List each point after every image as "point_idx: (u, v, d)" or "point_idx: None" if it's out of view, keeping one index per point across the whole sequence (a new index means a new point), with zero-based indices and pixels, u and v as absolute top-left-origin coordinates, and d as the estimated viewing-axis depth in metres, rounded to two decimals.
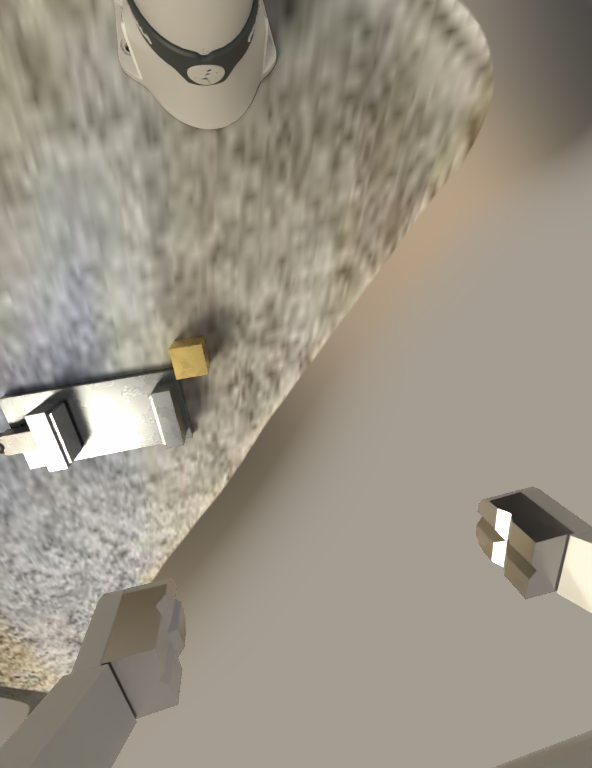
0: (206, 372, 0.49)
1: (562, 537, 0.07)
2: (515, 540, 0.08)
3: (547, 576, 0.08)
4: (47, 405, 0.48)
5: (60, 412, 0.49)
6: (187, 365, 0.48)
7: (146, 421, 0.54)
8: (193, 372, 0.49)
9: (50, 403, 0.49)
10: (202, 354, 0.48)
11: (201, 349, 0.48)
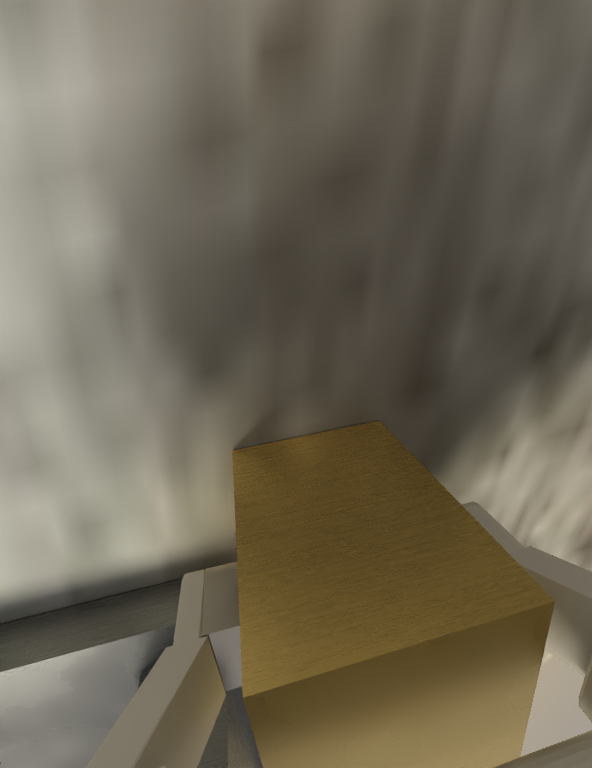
0: (511, 759, 0.06)
1: None
2: None
3: None
4: None
5: None
6: (391, 758, 0.05)
7: None
8: None
9: None
10: (530, 667, 0.05)
11: (538, 637, 0.05)
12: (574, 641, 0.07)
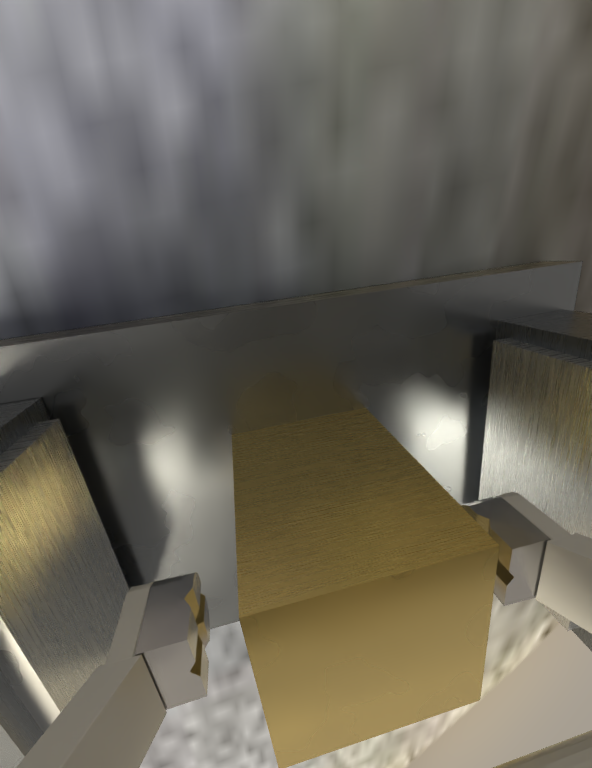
0: (473, 693, 0.07)
1: (539, 543, 0.07)
2: None
3: (525, 583, 0.08)
4: None
5: (35, 483, 0.08)
6: (366, 683, 0.06)
7: None
8: (394, 710, 0.07)
9: None
10: (483, 606, 0.06)
11: (487, 578, 0.06)
12: None
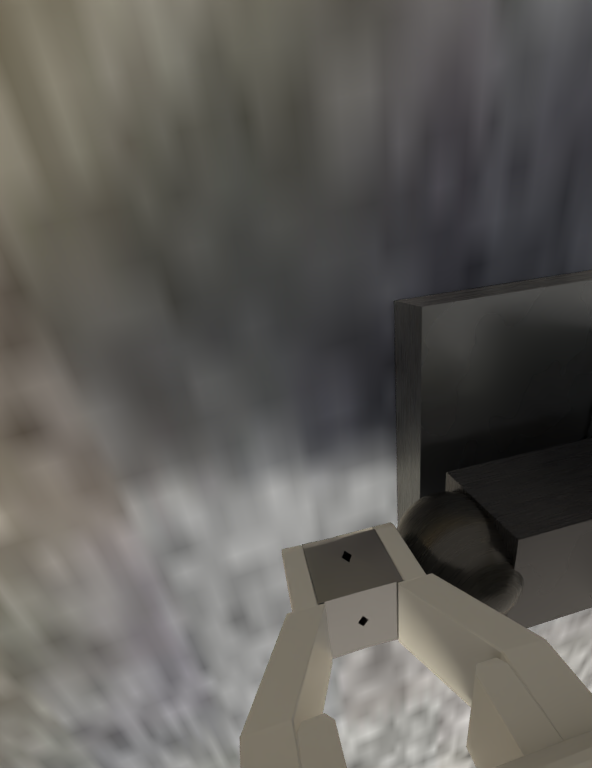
0: None
1: (391, 585, 0.07)
2: None
3: (383, 624, 0.07)
4: None
5: None
6: None
7: None
8: None
9: None
10: None
11: None
12: (466, 677, 0.06)
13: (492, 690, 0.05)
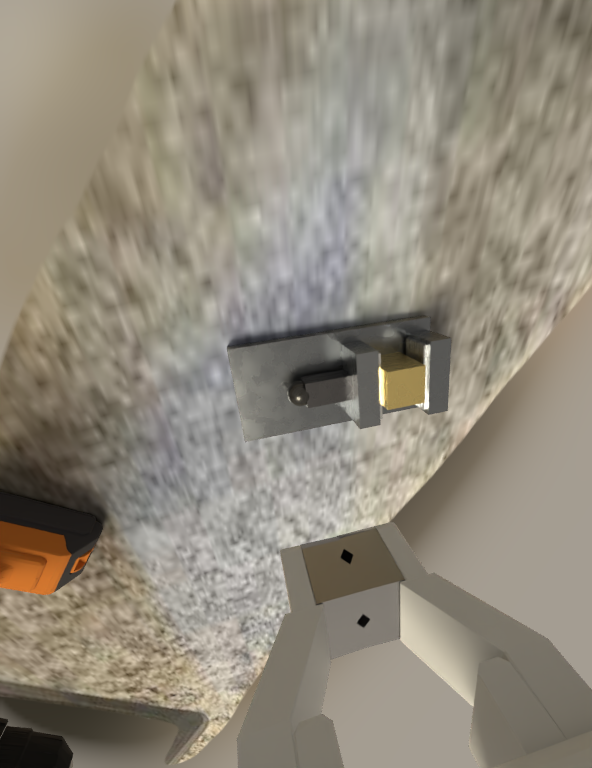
0: (423, 400, 0.38)
1: (393, 584, 0.07)
2: None
3: (385, 624, 0.07)
4: (360, 345, 0.39)
5: None
6: (403, 391, 0.38)
7: None
8: (408, 400, 0.38)
9: (358, 344, 0.40)
10: (423, 378, 0.37)
11: (424, 371, 0.37)
12: (468, 676, 0.06)
13: (495, 689, 0.05)
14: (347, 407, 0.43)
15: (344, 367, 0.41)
